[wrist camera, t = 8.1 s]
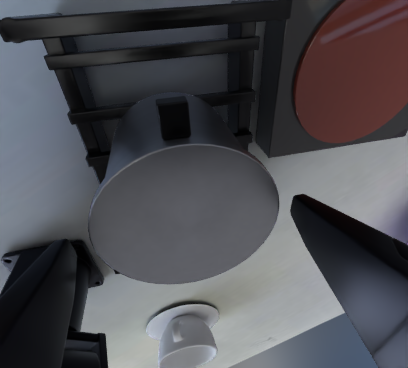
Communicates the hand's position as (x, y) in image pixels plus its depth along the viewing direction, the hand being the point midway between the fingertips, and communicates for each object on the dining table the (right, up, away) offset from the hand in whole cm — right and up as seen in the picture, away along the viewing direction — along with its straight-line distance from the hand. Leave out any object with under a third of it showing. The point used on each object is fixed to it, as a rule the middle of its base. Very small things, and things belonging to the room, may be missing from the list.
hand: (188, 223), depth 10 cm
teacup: (-2, -17, +24) cm, 30 cm away
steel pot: (-1, +4, +5) cm, 6 cm away
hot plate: (+10, +8, +5) cm, 14 cm away
